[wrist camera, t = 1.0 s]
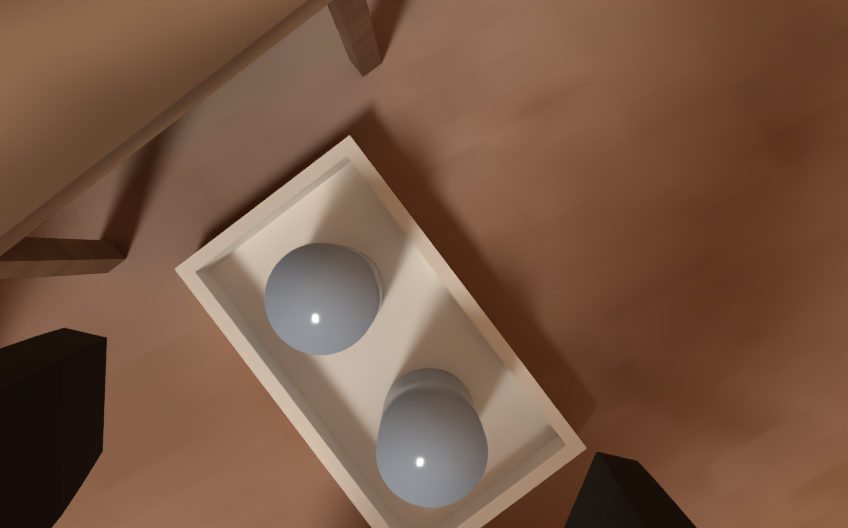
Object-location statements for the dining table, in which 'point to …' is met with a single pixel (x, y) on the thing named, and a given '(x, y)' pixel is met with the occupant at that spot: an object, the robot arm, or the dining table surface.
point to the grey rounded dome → (430, 439)
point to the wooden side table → (118, 97)
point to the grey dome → (323, 297)
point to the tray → (378, 342)
